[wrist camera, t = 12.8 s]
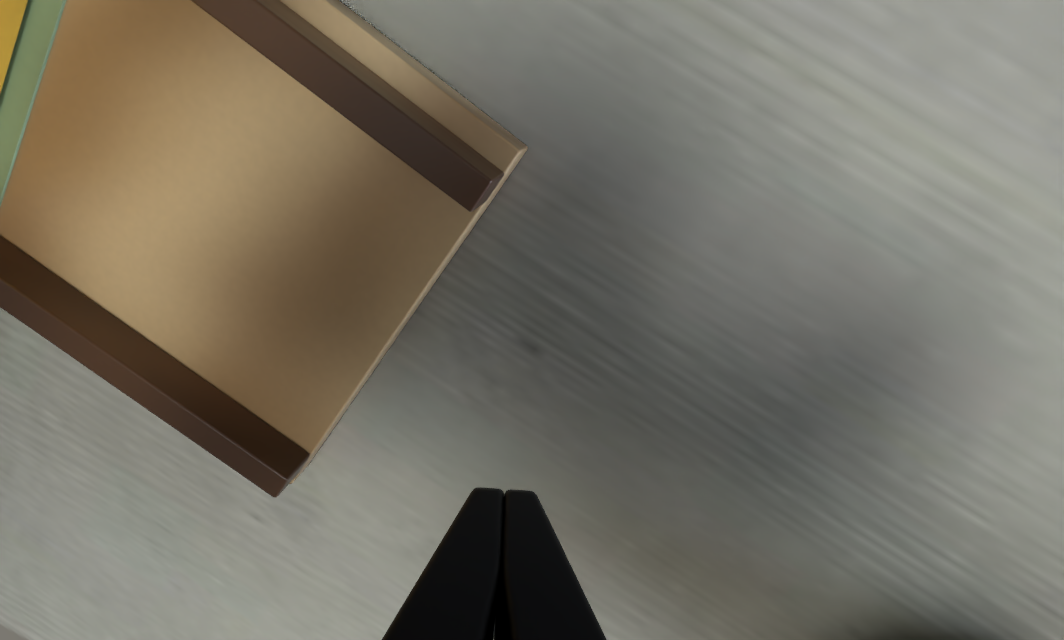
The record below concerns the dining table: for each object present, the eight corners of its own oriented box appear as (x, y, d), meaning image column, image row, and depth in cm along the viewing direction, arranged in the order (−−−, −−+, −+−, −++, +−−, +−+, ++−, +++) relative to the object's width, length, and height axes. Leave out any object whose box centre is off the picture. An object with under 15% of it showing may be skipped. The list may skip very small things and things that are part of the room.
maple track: (529, 147, 17) (508, 157, 15) (307, 466, 23) (265, 513, 20) (-150, -379, 16) (-299, -465, 13) (-217, 96, 21) (-333, 98, 19)
